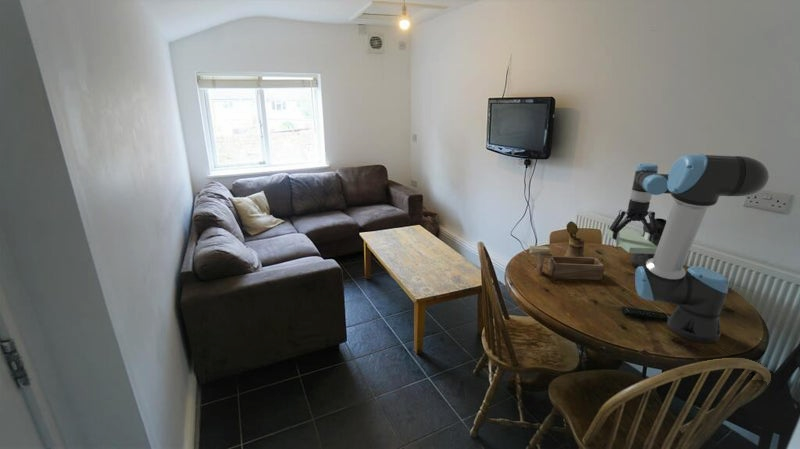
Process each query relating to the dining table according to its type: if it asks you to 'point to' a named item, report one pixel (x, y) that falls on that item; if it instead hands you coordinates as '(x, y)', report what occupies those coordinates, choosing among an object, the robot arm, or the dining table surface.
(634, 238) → the lid
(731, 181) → the robot arm
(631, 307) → the dining table surface
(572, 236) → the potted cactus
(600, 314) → the dining table surface
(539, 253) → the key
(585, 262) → the toolbox
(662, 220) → the beer stein
